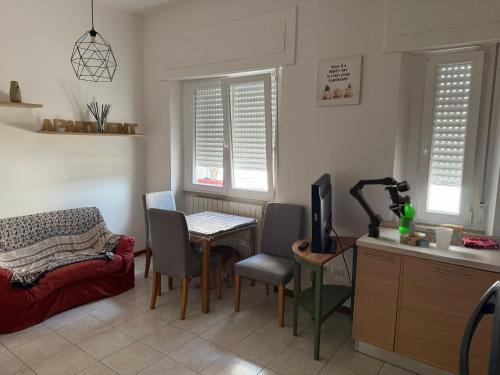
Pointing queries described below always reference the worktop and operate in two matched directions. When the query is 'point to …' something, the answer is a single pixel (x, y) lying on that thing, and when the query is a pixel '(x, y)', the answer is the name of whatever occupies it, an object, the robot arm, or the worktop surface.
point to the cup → (424, 243)
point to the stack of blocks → (455, 238)
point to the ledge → (410, 239)
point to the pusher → (411, 228)
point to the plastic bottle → (406, 219)
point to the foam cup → (443, 238)
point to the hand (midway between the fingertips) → (402, 217)
